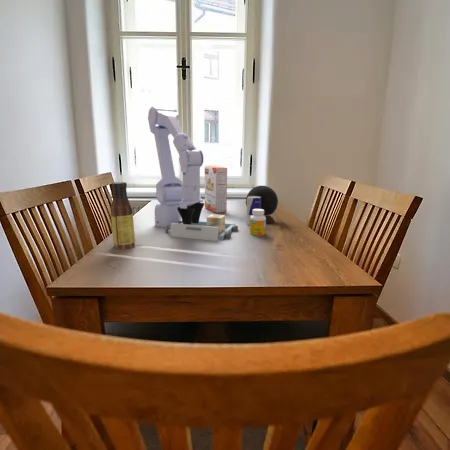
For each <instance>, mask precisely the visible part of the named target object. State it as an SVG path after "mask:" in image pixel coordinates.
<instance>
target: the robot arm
mask: <svg viewBox="0 0 450 450" xmlns="http://www.w3.org/2000/svg"><path fill="white" fill-rule="evenodd" d="M179 116H180V115H179V112H178V110H177V109H176V108H169V107H159V106H151V107H150V108H149V109H148V116H147V121H148V126H149V130H150V131H149V132H150V133H152V134H153V135H154V136H153V137H154V139H155V140H154V141H155V146H156V153H157V158H158V164H159V169H160V170H159V171H160V175H161V179H160V180H158V182H157V183H156V185H155V188H156V190H155V196H156V200H157V202H158V203H156V204H155V205H154V227H159V228H160V227H161V228H162V227H163V228H167V227H169V226H171V223H177V224H178V222H179V221H182V222H183V224H189V225H191V223H196V224H198V222H199V221H200V217H201V214H202V211H203V208H204V207H205V202H204V199H202V196H201V167H202V166H203V164H204V154H203V151H202V150H201V149H200V148H197V147H195V146H194V144H193V142H192V140H191V138H190V136H189V135H188V134H187V133H185V132H183V130H182V128H181V127H182V126H181V125H180V123H179V119H180V117H179ZM169 135H171V136H172V137H173V141H172V143H173V146H174V147H175V149H176V152H177V153H178V155H179V157H178V161H179V165H180V172H181V173H182V180H181V179H180V178H178V177H176V173H175V167H174V162H173V156H172V152H171V144H170V141H169V140H170V139H169Z"/></svg>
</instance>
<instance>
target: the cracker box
mask: <svg viewBox="0 0 450 450" xmlns="http://www.w3.org/2000/svg"><path fill="white" fill-rule="evenodd" d="M227 196H228V167H226V166H225V167H224V166H219V165H204V208H205V209H206V210H209V211H210V212H213V213H215V214H221V213H222V214H224V213H227V211H228V210H227V209H228V208H227V199H228V197H227ZM223 212H224V213H223Z"/></svg>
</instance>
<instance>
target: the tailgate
mask: <svg viewBox="0 0 450 450" xmlns="http://www.w3.org/2000/svg"><path fill="white" fill-rule="evenodd" d="M170 227H171V232H170V235H169V236H170V237H175V238H182V239H183V238H184V239H193V240H194V239H196V240H204V241H205V240H206V241H214V242H218V241H219V240H218V231H219V227H211V226H200V225H189V224H177V223H171V225H170Z"/></svg>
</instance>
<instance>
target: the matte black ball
mask: <svg viewBox="0 0 450 450" xmlns="http://www.w3.org/2000/svg"><path fill="white" fill-rule="evenodd" d="M248 196H259V197H261V209H263V210H264V214H263V216H265V217H266V225H272V224H275V219H274V217H273V216H271V215H273V214H274V213H275V212H276V210H277V208H278V205H279V198H278V195H277V193H276V191H275V190H274V189H272V187H269V186H267V185H256V186H254V187H253V188H251V189H250V190H249V191H248V193H247V194H246V198H245V205H246V207H247V198H248Z"/></svg>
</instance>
